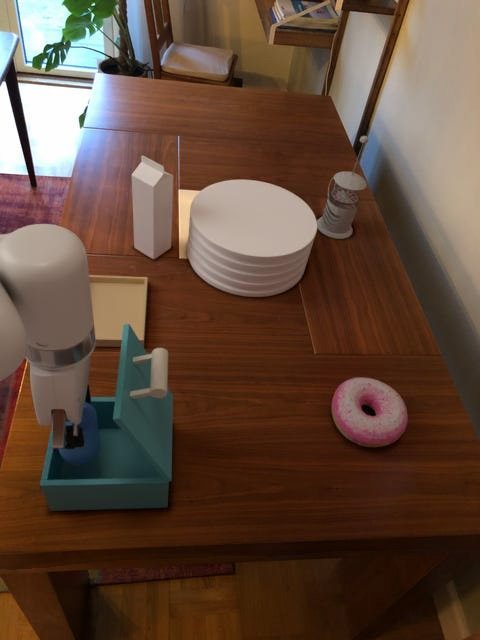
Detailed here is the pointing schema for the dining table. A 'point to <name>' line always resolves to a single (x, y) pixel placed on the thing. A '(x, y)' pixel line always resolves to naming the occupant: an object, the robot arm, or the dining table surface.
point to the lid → (145, 401)
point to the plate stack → (250, 237)
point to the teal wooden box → (104, 472)
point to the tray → (118, 307)
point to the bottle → (91, 440)
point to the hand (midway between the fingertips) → (75, 422)
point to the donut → (363, 426)
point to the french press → (342, 203)
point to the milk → (152, 208)
